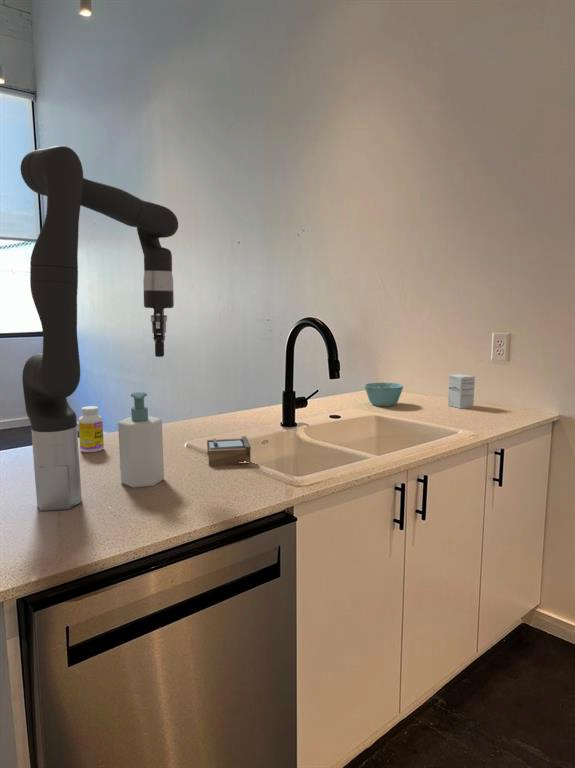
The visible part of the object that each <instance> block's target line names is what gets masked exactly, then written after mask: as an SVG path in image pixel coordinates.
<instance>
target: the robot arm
mask: <svg viewBox="0 0 575 768" xmlns="http://www.w3.org/2000/svg"><path fill="white" fill-rule="evenodd" d="M20 174H21V175H20V176H21V178H22V180H23V182H24V183H25V184H26V186H27V187H28V188H29V189H30V190H31V191H33V192H34V193H36V194H38V195H41V196H45V197H46V200H47V201H46V213H45V214H46V215H45V219H44V221H43V222H44V223H43V225H42V227H41V230H40V232H39V234H38V237H37V239H36V241H35V244H34V245H33V249H32V252H31V255H30V263H29V264H30V267H29V269H30V273H29V274H30V275H29V276H30V277H29V280H30V281H29V282H30V285H29V286H30V292H31V296H32V301H33V302H34V303H33V304H34V307H35V310H36V311H37V314H38V318H39V321H40V323H41V329H42V338H43V339H42V352H39V353H35V354H33V355H32V356H30V357H28V359H27V361H26V362H25V364H24V366H23V370H22V378H21V379H22V389H23V398H24V406H25V411H26V415H27V417H28V419H29V422H30V428H31V440H32V441H31V442H32V443H31V444H32V453H33V455H32V457H33V467H34V468H33V470H34V480H35V481H34V483H35V493H36V494H35V495H36V506H37V507H38V508H39V511H42V512H43V511H44V512H45V511H58V510H59V511H61V510H70V509H71V508H72V507H75V506H77V505H79V504H80V503H81V502H82V501H83V500H82V499H83V497H82V482H81V466H80V454H79V453H80V451H79V450H80V449H79V439H78V438H79V434H78V433H79V432H78V420H77V414H76V412H75V411H74V410H73V409H72V407H71V406H70V405H69V402H68V399H67V398H68V397H71V395H73V394H74V393H75V391H76V390H77V388H78V387H79V384H80V381H81V361H80V352H79V343H78V288H79V287H78V285H79V283H78V282H79V270H78V269H79V264H78V261H79V259H78V256H79V255H78V252H79V251H78V250H79V249H78V248H79V225H80V223H79V221H80V213H81V207H83V208H86V209H89V210H92V211H95V212H96V213H99V214H102V215H104V216H106V217H108V218H110V219H113V220H115V221H117V222H119V223H122V224H124V225H126V226H128V227H131V228H136V233H137V236H138V240H139V242H140V247H141V250H142V253H143V266H144V267H143V269H144V270H143V282H142V283H143V285H142V286H143V307H144V308H146V309H153V314H151V315H150V322H151V330H152V331H151V332H152V334H153V337H152V338H153V342H154V350H155V351H154V355H155V357H156V358H163V357H164V356H165V340H166V339H165V338H166V333H167V323H168V322H167V321H168V316H167V315H168V314H167V315H165V309H172V308H174V306H175V305H174V302H175V301H174V298H175V297H174V278H173V277H174V276H173V254H172V251H171V250H170V249H169V248H166V247H162V245H161V242H160V239H161V238H162V239H165V238H170V237H173V236H174V235H175V234H176V233H177V232H178V228H179V221H178V217H177V215H176V214H175V213H174V212H173V211H172V209H170V208H168V207H165V206H163V205H161V204H158V203H157V204H156V203H154V202H151V201H147V200H143V199H141V198H139V197H137V196H135V195H133V194H132V193H130V192H129V191H125V190H123V189H122V188H119V187H116V186H113V185H109V184H105V183H102V182H98V181H94V180H91V179H88V178H85V177H84V169H83V165H82V162H81V159H80V157H79V155H78V154H77V152H75V151H74V149H72V148H70V147H69V146H67V145H55V146H50V147H45V148H40V149H34V150H33V151H30V152H28V153H27V154H25V156H24V157H23V158H22V160H21V163H20Z"/></svg>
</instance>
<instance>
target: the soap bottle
mask: <svg viewBox="0 0 575 768" xmlns="http://www.w3.org/2000/svg"><path fill="white" fill-rule="evenodd" d="M130 396H131V397H132V398H133V401H134V402H133V403H134V407H131V412H130V413H131V416H129V417H127V418H125V419H121V420H120V421H118V423H117V429H118V445H119V447H118V448H119V467H120V483H122V484H123V485H125V486H128V487H130V488H133V489H135V488H145V487H147V488H148V487H154V486H156V485H157V484H159V483H160V482H161V481H163V480H164V479H165V470H164V469H165V468H164V465H165V464H164V462H165V461H164V442H163V441H164V440H163V439H164V437H163V420H162V418H159V417H155V416H151V415H149V409H148V408H149V407H147V406H145V397H147V396H148V394H147V392H141V391H140V392H139V391H137V392H133V393H131V394H130Z"/></svg>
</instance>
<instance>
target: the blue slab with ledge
mask: <svg viewBox="0 0 575 768" xmlns="http://www.w3.org/2000/svg"><path fill="white" fill-rule="evenodd" d="M212 440H213V442H209V450H218V449H238V448H244V446H243V444H242V442H241V440H237V441H221V442H217V441H216V440H217V439H216V438H212Z"/></svg>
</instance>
